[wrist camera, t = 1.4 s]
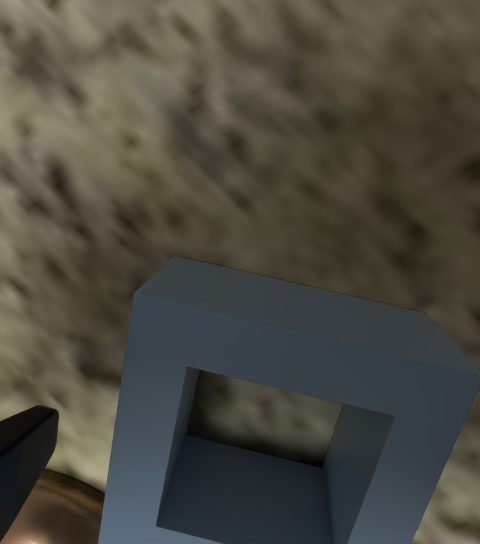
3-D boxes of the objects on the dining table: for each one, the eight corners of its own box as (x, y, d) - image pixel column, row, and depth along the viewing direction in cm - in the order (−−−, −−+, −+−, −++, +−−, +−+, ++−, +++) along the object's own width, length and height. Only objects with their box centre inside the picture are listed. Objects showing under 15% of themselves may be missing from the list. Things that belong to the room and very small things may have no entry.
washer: (424, 312, 10) (485, 375, 7) (351, 510, 12) (374, 625, 9) (175, 255, 10) (133, 292, 7) (140, 458, 12) (96, 553, 9)
